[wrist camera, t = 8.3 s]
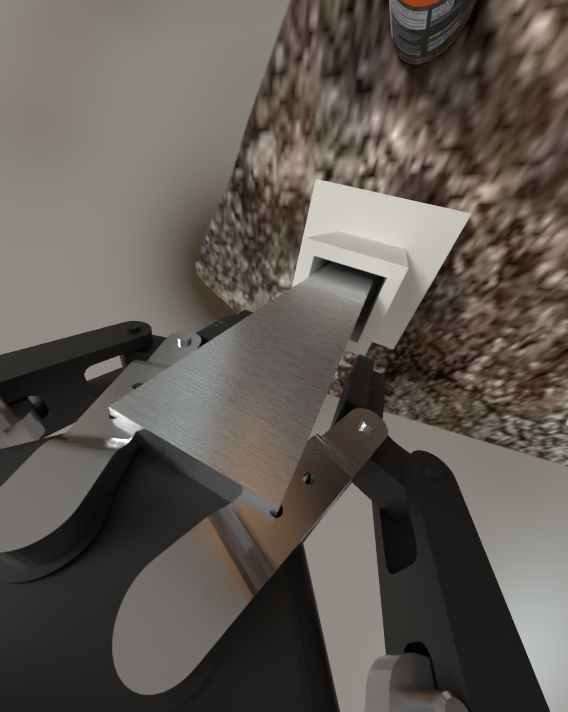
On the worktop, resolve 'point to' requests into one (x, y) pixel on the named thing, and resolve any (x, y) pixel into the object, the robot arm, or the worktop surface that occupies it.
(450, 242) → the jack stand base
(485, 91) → the worktop surface
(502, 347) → the worktop surface
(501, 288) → the worktop surface
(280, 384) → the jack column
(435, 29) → the supplement bottle
